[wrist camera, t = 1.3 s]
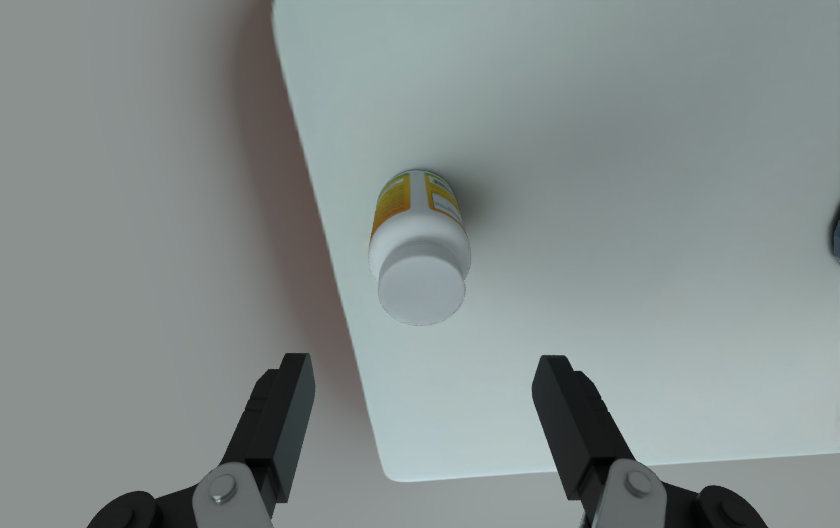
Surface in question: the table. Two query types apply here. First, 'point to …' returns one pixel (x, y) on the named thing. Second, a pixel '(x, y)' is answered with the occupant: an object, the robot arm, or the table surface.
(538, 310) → the table surface
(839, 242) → the bowl
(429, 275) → the supplement bottle
